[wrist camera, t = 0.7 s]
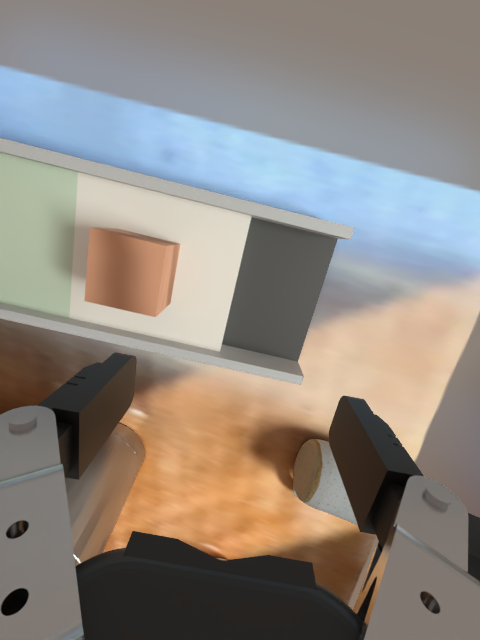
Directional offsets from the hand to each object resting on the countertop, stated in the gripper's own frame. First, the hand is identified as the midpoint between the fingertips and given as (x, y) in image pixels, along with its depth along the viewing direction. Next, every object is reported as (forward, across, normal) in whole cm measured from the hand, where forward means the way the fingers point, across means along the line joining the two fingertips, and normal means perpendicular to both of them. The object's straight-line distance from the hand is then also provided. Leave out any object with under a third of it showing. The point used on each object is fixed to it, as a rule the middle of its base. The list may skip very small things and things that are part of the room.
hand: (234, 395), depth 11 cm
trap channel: (+20, +14, -1) cm, 25 cm away
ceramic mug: (+21, -14, +21) cm, 33 cm away
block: (+18, +10, -1) cm, 21 cm away
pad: (+20, +22, -1) cm, 30 cm away
